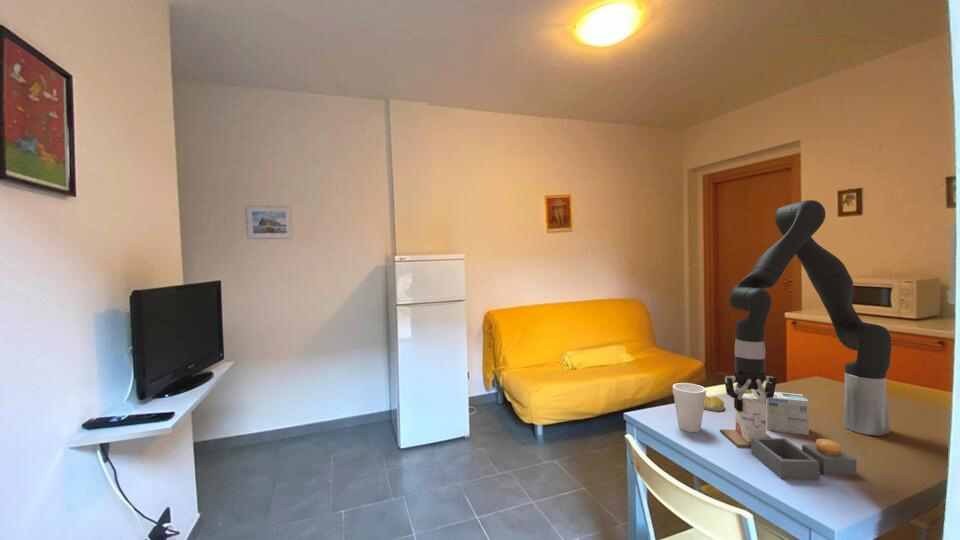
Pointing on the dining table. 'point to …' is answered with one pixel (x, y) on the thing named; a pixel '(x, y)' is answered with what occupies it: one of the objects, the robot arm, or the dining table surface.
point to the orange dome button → (828, 447)
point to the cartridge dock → (800, 460)
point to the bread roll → (713, 404)
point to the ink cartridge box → (752, 416)
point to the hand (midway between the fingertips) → (749, 410)
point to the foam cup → (689, 405)
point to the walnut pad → (737, 438)
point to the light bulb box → (788, 413)
